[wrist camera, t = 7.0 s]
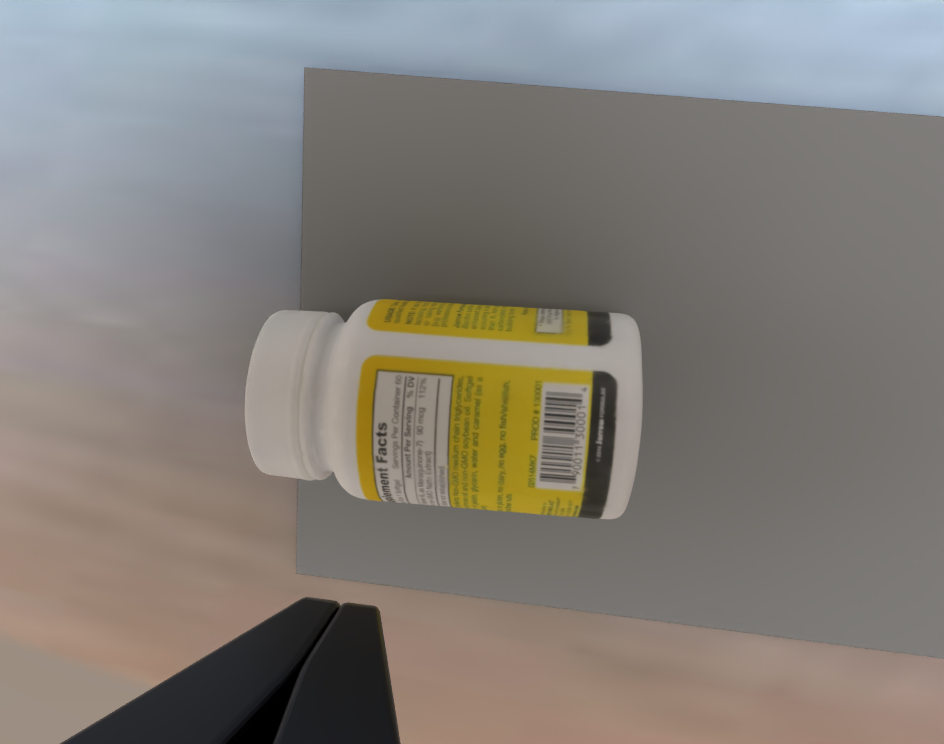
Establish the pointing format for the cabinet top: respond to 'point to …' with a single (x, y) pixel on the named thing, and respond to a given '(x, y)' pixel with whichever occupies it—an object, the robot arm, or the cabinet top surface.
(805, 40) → the cabinet top surface
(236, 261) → the cabinet top surface
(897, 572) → the flat gray panel
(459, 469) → the supplement bottle
